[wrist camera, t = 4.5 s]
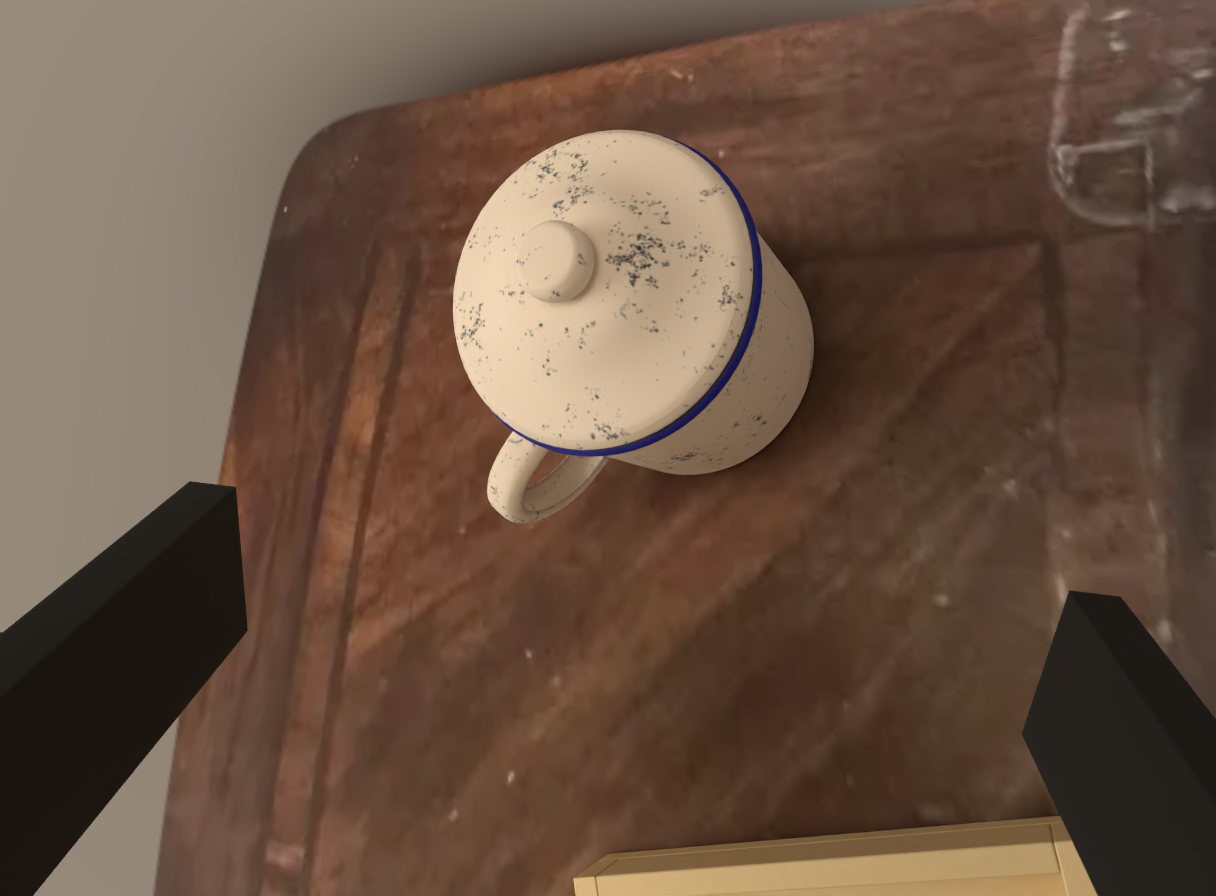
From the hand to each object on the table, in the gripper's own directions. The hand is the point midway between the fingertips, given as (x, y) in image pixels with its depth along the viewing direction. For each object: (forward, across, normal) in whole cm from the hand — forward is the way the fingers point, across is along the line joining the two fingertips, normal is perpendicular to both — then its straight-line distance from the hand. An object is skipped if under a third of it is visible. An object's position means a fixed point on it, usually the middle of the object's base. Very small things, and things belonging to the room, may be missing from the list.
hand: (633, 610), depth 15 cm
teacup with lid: (+19, 0, -3) cm, 19 cm away
